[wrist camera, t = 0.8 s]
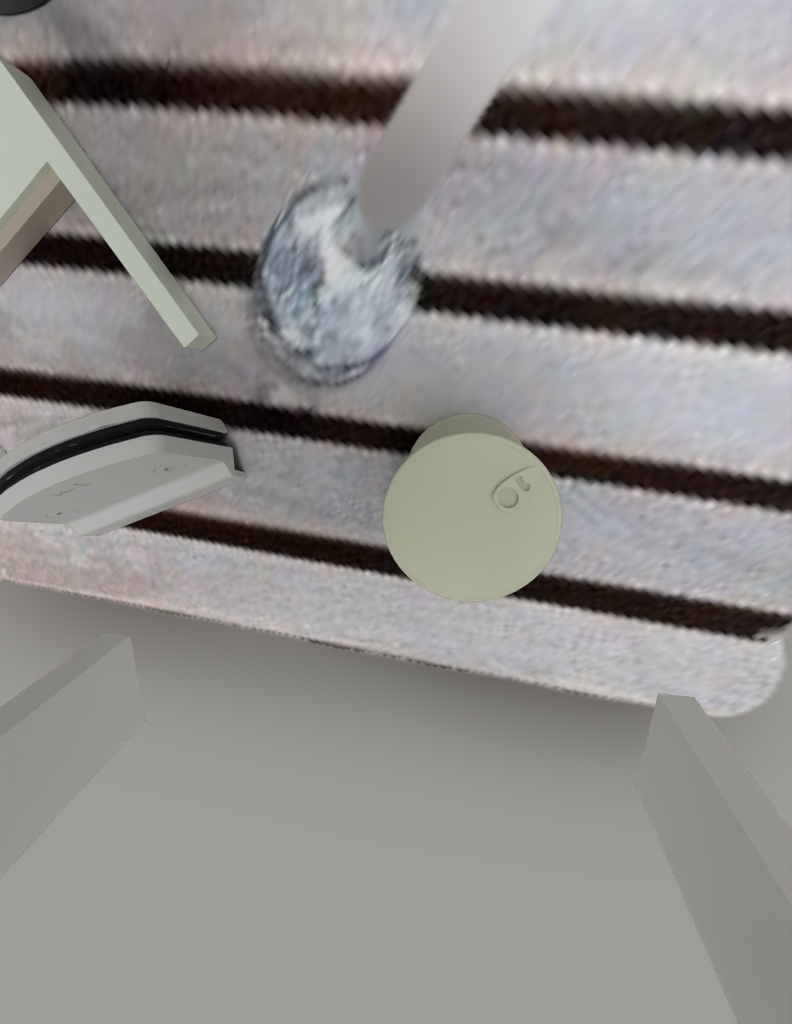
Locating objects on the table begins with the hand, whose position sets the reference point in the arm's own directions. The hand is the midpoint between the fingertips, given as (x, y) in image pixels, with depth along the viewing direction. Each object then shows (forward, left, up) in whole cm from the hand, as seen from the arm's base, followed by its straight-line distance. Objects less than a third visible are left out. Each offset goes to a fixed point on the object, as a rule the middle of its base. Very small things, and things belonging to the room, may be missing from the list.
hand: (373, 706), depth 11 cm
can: (+1, +3, -24) cm, 24 cm away
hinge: (-14, -19, -24) cm, 34 cm away
